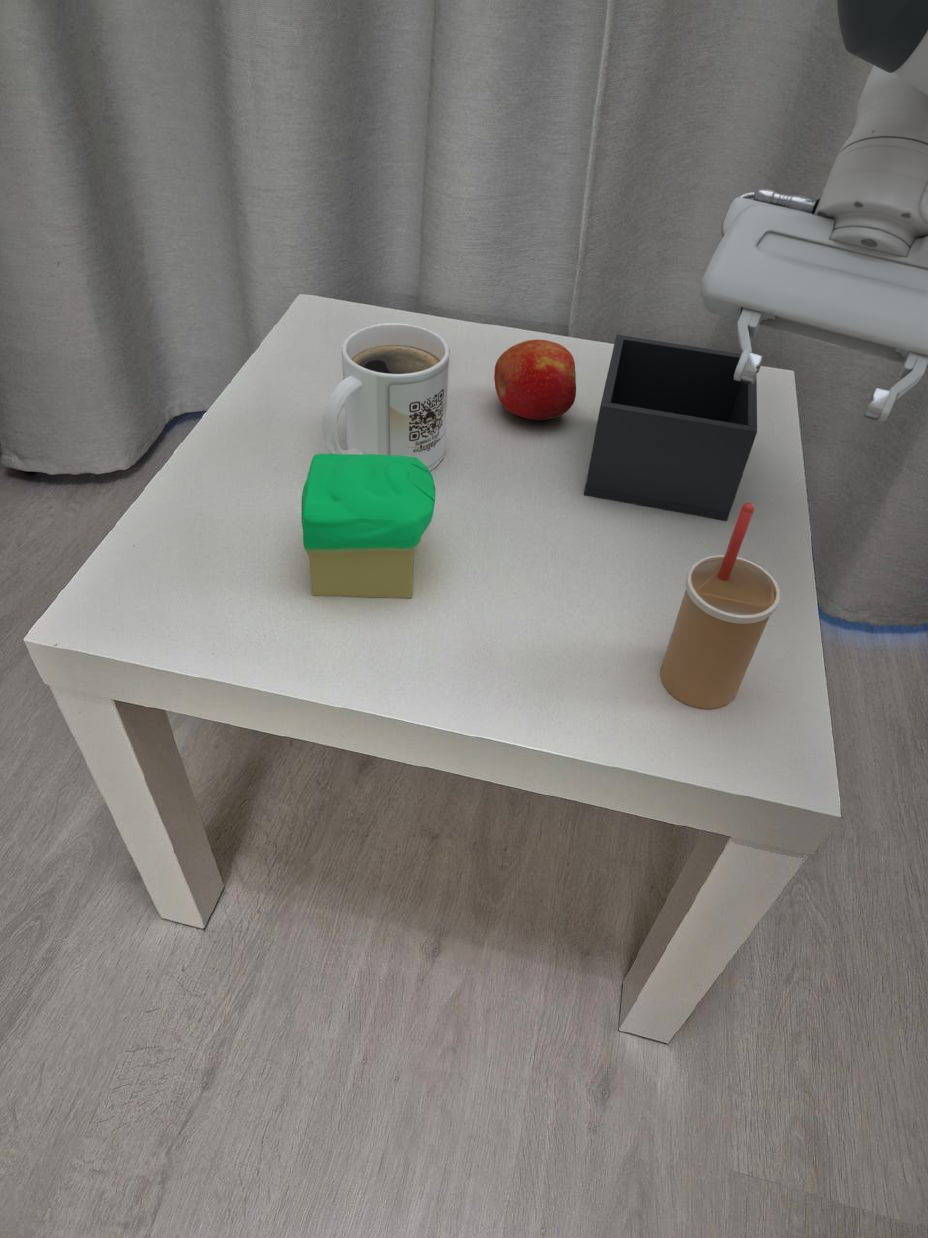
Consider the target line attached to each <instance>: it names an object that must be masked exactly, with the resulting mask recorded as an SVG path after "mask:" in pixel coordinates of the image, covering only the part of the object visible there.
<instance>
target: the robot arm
mask: <svg viewBox="0 0 928 1238" xmlns="http://www.w3.org/2000/svg"><path fill="white" fill-rule="evenodd" d="M836 6H837V16H838V23H839V29H840V33H841V38H842V42H843V45H844V49H845V50H846V51H847V52H848V53H849V54H852V55H854V56H855V57H856V58H859V59H861V60H863V61H865V62H867V63H869V64H871V65H872V68H871V70H870V73H869V75H868V77H867V80H866V82H865V85H864V87H863V89H862V91H861V95H860V96H859V100H858V101H857V107H856V114H855V123H854V127H853V129H852V132H851V134H850V135H849V137H848V138H847V140H846V141H845V142H844V143H843V145H842V146H841V148H840V149H839V151H838V152H837V154H836V157H835V160H834V163H833V165H832V168H831V170H830V172H829V175H828V178H827V180H826V182H825V185H824V187H823V190H822V192H821V195H820V198H818V199H817V198H814V197H813V198H812V197H808V196H803V195H798V194H791V193H790V194H788V193H781V192H778V191H776V190H775V189H772V188H767V187H766V188H765V187H758V188H756V191H750V192H749V191H748V192H744V193H742V194H740V195H739V196H737V197H735V198H734V199H733V201H731V203H730V205H729V206H728V208H727V210H726V213H725V216H724V219H723V221H722V223H721V227H720V234H721V237H722V238H721V240H720V242H719V244H718V246H717V247H716V248H715V251H714V253H713V254H712V257H711V258H710V260H709V262H708V264H707V267H706V269H705V272H704V274H703V276H702V279H701V283H700V296H701V300H702V303H703V305H704V307H705V309H706V312H709V313H711V314H715V315H718V316H722V317H726V318H730V319H734V320H737V323H736V336H737V342H738V343H737V344H738V349H739V354H740V355H741V357H740V360H739V362H738V365H737V367H736V370H735V373H734V380H737V381H740V382H744V383H747V384H751V385H753V384H754V382H755V380H756V374H758V373H759V372H760V369H761V367H762V363H763V359H764V358H763V355H761V354H757V353H754V352H753V349H752V342H751V338H752V339H754V338H756V337H757V334H758V332H759V330H760V328H761V327H763V328H768V329H770V330H775V331H779V332H782V333H786V334H790V335H793V336H798V337H801V338H805V339H808V340H813V341H816V342H819V343H823V344H827V345H830V346H834V347H838V348H841V349H845V350H849V351H853V352H858V353H861V354H864V355H868V356H872V357H875V358H880V359H883V360H887V361H891V362H895V363H898V364H901V365H902V366H901V368H900V371H899V373H898V378H900V380H899V381H898V382H896V383H895V384H893V386H892V387H890V388H889V389H884V388H879V387H875V389H874V391H873V393H872V395H871V397H870V399H869V402H868V406H867V407H866V408H865V409H866V410H865V412H864V413H863V414H864V415H863V417H864V418H866V419H870V420H872V421H873V420H874V421H877V422H879V423H885V422H886V421H887V419H888V418H889V416H890V414H891V411H892V409H893V407H894V405H895V402H896V401H897V400H898V399H899V398H901V397H902V396H903V395H904V394H906V393H907V392H908V391H909V390H911V389H912V388H913V387H915V386H916V385H917V384H918V383H919V382H920V380H921V379H922V378H923V376H924V375H925V373H926V371H928V0H836Z"/></svg>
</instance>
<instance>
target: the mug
mask: <svg viewBox="0 0 928 1238" xmlns="http://www.w3.org/2000/svg"><path fill="white" fill-rule="evenodd" d="M449 347H450V346H449V344H448V343H447V341H446V340H445V339H444V338H443V337H442V336H441V335H439V334H438V333H437V332H435V331H433V330H431V329H428V328H426V327H424V326H420V325H416V324H411V323H405V322H404V323H402V322H384V323H377V324H376V323H375V324H371V325H368V326H364V327H361V328H359V329H357V330H355V331H353V332H351V333H350V334H349V335H348V336H347V337H346V338H345V340H344V341H343V343H342V346H341V366H342V367H341V368H342V380H341V381H340V382H339V383H338V384H337V385H336V386H335V387H334V389H333V390H332V392H331V394H330V395H329V397H328V400H327V402H326V405H325V408H324V412H323V416H322V434H323V439H324V440H323V441H324V443H325V445H326V447H327V449H328V451H329V452H330V453H331V454H361V455H362V454H377V455H401V456H409V457H416V458H417V459H419V460H420V461H421V462H422V463H423V464H424V465H425V466H426V467H427V468H428V470H429V471H430V472H431V471H432V470H434V469H435V468H436V467H437V466H438V465H440V463H441V461H443V459H444V456H445V454H446V444H447V421H448V419H447V417H448V399H449V398H448V397H449V395H448V394H449V373H450V348H449ZM343 407H344V419H345V420H344V421H345V442H346V449H343V448H342V447H341V444H340V443H339V438H338V424H339V423H338V422H339V419H340V415H341V412H342V410H343Z"/></svg>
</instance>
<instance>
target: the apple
mask: <svg viewBox="0 0 928 1238" xmlns="http://www.w3.org/2000/svg"><path fill="white" fill-rule="evenodd" d="M494 365H495V366H494V374H493V375H494V376H493V379H494V386H495V387H494V388H495V391H496V394H497V397H498V400H499V402H500V404H501V405H502V406H503V408H504V409H505V410H506V411H507V412H508V413H511V414H512V415H515V416H516V417H519V418H522V419H526V420H534V421H545V420H546V421H547V420H551V419H555V418H557V417H560V416H562V415H564V414H566V413H567V412H568V411H570V409H571V408H572V407H573V405H574V403H575V401H576V397H577V375H576V374H577V373H576V372H577V371H576V362H575V359H574V356H573V354H572V353H571V351H569V350H568V348H566V347H565V346H564V345H562V344H561V343H557V342H554V341H551V340H545V339H528V340H525V341H522V342H519V343H516V344H514V345H512V346H511V347H509V348H507V349H506V350H505V351H503V353H501V355H500V356H499V357H498V359H497V361H496V362H495V364H494Z"/></svg>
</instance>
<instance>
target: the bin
mask: <svg viewBox="0 0 928 1238" xmlns="http://www.w3.org/2000/svg"><path fill="white" fill-rule="evenodd" d="M740 357H741V355H740V353H737V352H731V351H724V350H719V349H713V348H712V349H711V348H705V347H699V346H692V345H687V344H681V343H680V344H679V343H673V342H667V341H660V340H655V339H649V338H642V337H635V336H629V335H623V334H616V335H615V339H614V343H613V348H612V352H611V357H610V362H609V365H608V369H607V374H606V379H605V384H604V388H603V392H602V398H601V402H600V405H599V411H598V416H597V422H596V427H595V433H594V438H593V443H592V448H591V454H590V460H589V465H588V470H587V475H586V476H587V477H586V482H585V486H584V492H583V495H584V496H589V497H594V498H599V499H605V500H610V501H615V502H616V501H617V502H622V503H628V504H633V505H638V506H644V507H650V508H655V509H660V510H665V511H670V512H671V511H672V512H678V513H683V514H689V515H693V516H699V517H700V516H701V517H705V518H711V519H716V520H722V521H728V520H729V517H730V513H731V511H732V508H733V504H734V502H735V499H736V496H737V494H738V490H739V487H740V484H741V481H742V479H743V475H744V472H745V469H746V466H747V464H748V460H749V458H750V456H751V455H750V454H751V452H752V449H753V447H754V446H753V445H754V442H755V440H756V436H757V433H758V391H757V390H758V384H757V380H758V379H757V374H758V373H757V374H756V380H755V382H754V384H753V385H751V384H747V383H744V382H740V381H737V380H734V373H735V370H736V367H737V365H738V362H739V360H740Z"/></svg>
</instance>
